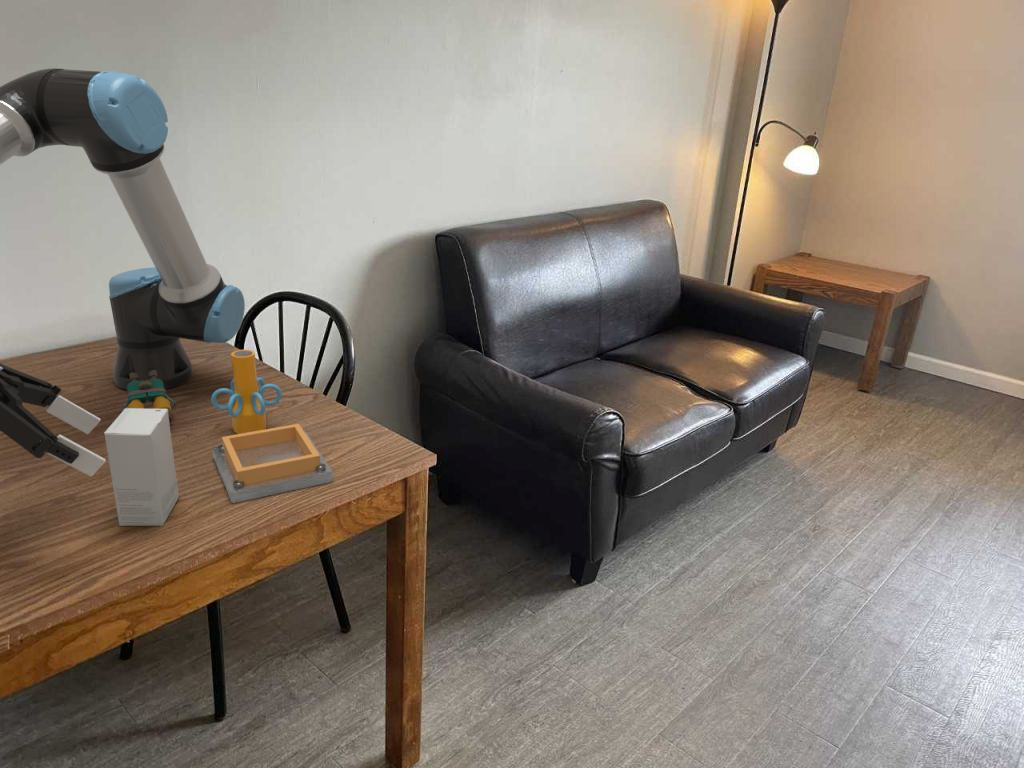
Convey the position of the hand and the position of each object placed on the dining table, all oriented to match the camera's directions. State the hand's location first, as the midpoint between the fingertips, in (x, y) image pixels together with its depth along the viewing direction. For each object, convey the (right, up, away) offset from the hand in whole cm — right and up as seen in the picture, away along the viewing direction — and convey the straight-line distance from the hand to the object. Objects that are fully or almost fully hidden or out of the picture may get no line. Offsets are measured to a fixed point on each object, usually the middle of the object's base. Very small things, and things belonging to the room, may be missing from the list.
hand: (96, 446), depth 106 cm
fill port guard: (+18, -4, +20) cm, 27 cm away
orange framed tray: (+18, -6, +21) cm, 28 cm away
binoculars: (-8, +1, +33) cm, 34 cm away
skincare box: (+4, -11, +8) cm, 14 cm away
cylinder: (+10, 0, +35) cm, 36 cm away
